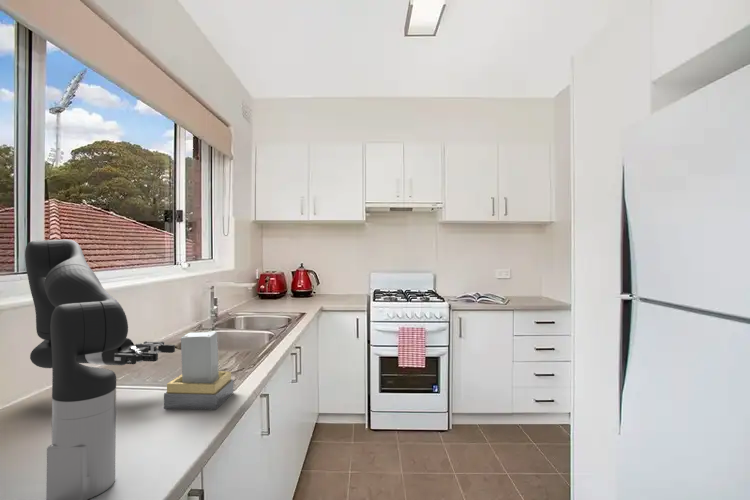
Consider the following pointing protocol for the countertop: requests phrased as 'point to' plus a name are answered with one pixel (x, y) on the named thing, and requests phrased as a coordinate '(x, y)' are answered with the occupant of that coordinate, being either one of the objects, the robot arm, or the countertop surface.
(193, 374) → the skincare box
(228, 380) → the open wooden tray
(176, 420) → the countertop surface
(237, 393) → the countertop surface
